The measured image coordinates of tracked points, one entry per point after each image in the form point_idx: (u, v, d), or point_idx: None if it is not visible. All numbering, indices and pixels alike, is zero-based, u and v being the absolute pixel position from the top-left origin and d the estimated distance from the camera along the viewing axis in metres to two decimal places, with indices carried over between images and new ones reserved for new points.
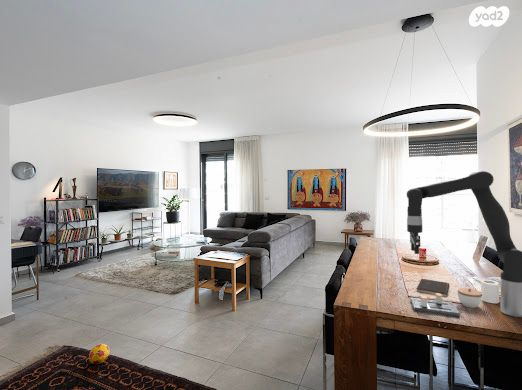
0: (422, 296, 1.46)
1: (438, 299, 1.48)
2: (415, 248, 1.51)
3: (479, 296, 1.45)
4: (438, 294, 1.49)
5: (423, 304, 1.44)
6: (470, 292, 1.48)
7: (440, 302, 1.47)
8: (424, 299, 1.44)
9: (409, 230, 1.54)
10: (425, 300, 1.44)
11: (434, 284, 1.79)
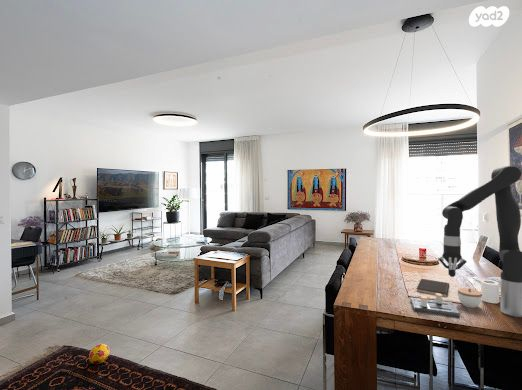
0: (422, 296, 1.46)
1: (438, 299, 1.48)
2: (454, 271, 1.45)
3: (479, 296, 1.45)
4: (438, 294, 1.49)
5: (423, 304, 1.44)
6: (470, 292, 1.48)
7: (440, 302, 1.47)
8: (424, 299, 1.44)
9: (458, 251, 1.43)
10: (425, 300, 1.44)
11: (434, 284, 1.79)
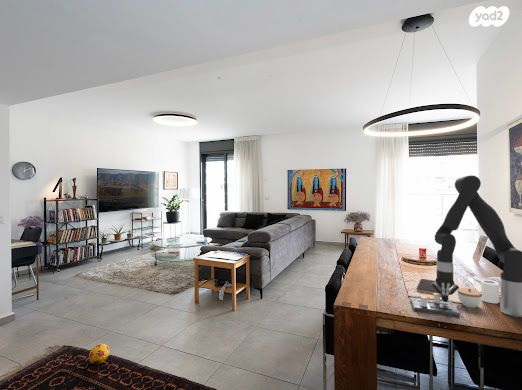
0: (422, 296, 1.46)
1: (436, 299, 1.48)
2: (447, 296, 1.47)
3: (479, 296, 1.45)
4: (436, 293, 1.49)
5: (423, 304, 1.44)
6: (470, 292, 1.48)
7: (438, 302, 1.48)
8: (424, 299, 1.44)
9: (451, 277, 1.44)
10: (425, 300, 1.44)
11: None
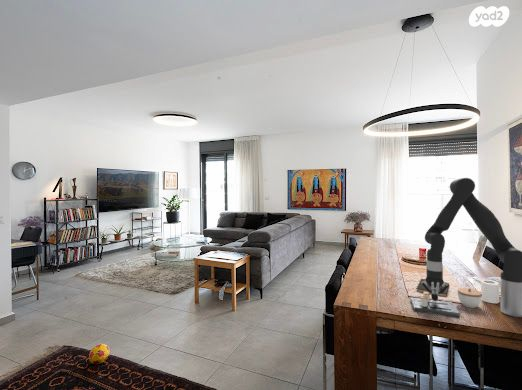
0: (422, 296, 1.46)
1: None
2: (436, 295, 1.49)
3: (479, 296, 1.45)
4: (426, 292, 1.51)
5: (423, 304, 1.44)
6: (470, 292, 1.48)
7: (428, 301, 1.49)
8: (424, 299, 1.44)
9: (440, 276, 1.46)
10: (425, 300, 1.44)
11: None
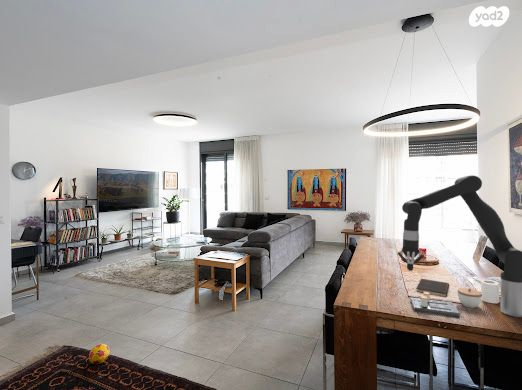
0: (422, 296, 1.46)
1: None
2: (412, 265, 1.47)
3: (479, 296, 1.45)
4: (426, 292, 1.51)
5: (423, 304, 1.44)
6: (470, 292, 1.48)
7: (428, 301, 1.49)
8: (424, 299, 1.44)
9: (416, 246, 1.44)
10: (425, 300, 1.44)
11: (433, 284, 1.79)
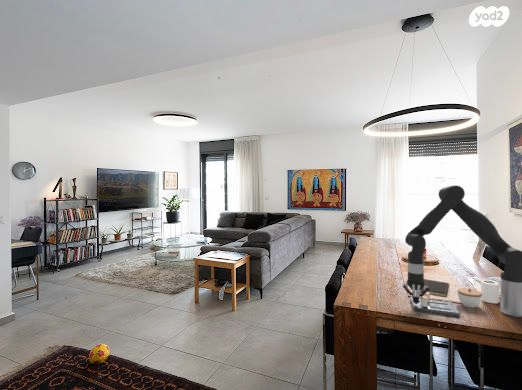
0: (422, 296, 1.46)
1: None
2: (417, 298, 1.46)
3: (479, 296, 1.45)
4: None
5: (423, 304, 1.44)
6: (470, 292, 1.48)
7: (428, 301, 1.49)
8: (424, 299, 1.44)
9: (421, 279, 1.43)
10: (425, 300, 1.44)
11: (433, 284, 1.79)
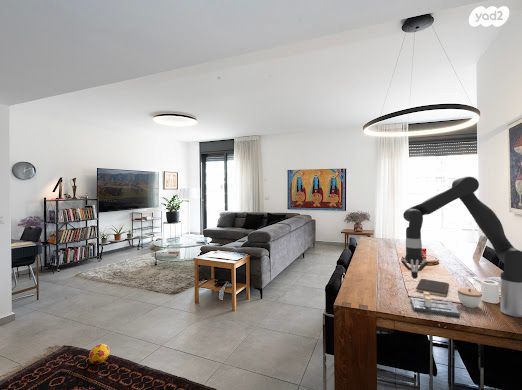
0: (426, 296, 1.46)
1: None
2: (416, 273, 1.47)
3: (479, 296, 1.45)
4: (426, 292, 1.51)
5: (427, 305, 1.43)
6: (470, 292, 1.48)
7: None
8: (428, 299, 1.43)
9: (419, 253, 1.44)
10: (429, 300, 1.43)
11: (433, 284, 1.79)
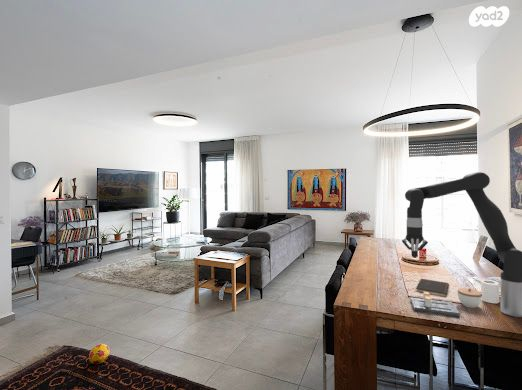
0: (426, 296, 1.46)
1: None
2: (416, 252, 1.48)
3: (479, 296, 1.45)
4: (426, 292, 1.51)
5: (427, 305, 1.43)
6: (470, 292, 1.48)
7: None
8: (428, 299, 1.43)
9: (420, 232, 1.45)
10: (429, 300, 1.43)
11: (433, 284, 1.79)
